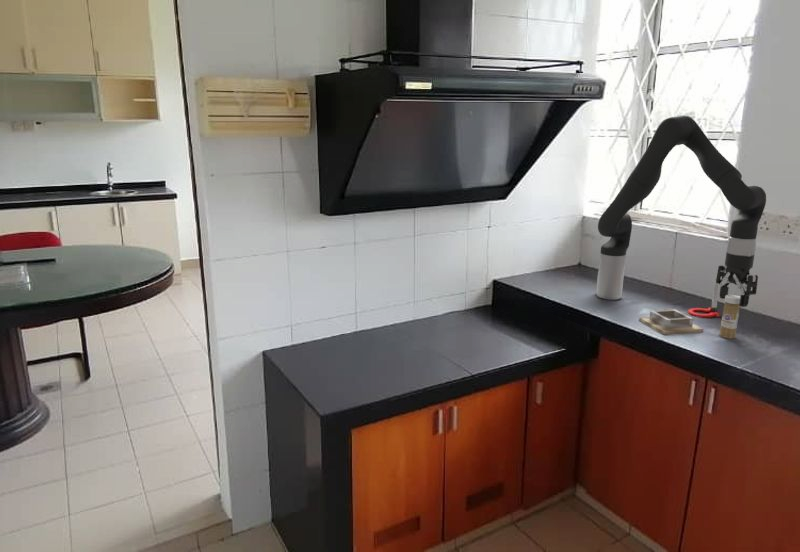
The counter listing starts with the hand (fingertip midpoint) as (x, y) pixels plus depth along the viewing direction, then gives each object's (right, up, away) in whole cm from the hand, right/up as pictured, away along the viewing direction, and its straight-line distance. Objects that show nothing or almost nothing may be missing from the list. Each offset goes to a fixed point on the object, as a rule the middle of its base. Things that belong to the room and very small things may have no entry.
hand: (733, 302), depth 180 cm
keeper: (-14, -9, +13) cm, 21 cm away
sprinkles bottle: (0, -11, +3) cm, 12 cm away
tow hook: (+3, -6, +24) cm, 25 cm away
